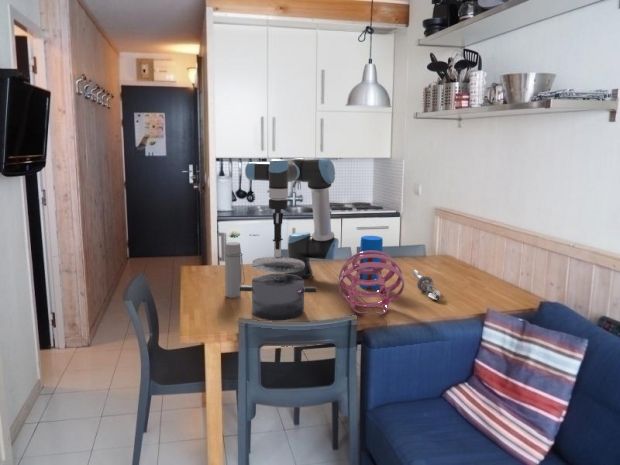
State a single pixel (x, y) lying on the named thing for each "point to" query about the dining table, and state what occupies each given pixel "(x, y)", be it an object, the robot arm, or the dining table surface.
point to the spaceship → (426, 285)
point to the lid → (278, 264)
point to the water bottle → (233, 269)
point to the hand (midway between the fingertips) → (277, 256)
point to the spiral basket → (379, 281)
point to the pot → (277, 296)
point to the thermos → (366, 245)
